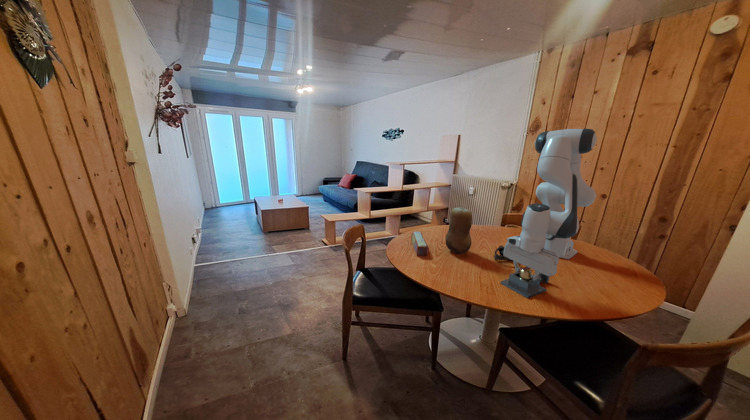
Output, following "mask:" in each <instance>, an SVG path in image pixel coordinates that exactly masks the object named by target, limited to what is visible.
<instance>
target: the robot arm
mask: <svg viewBox="0 0 750 420" xmlns="http://www.w3.org/2000/svg"><path fill="white" fill-rule="evenodd" d="M597 137H598V136H597V134H596V131H595V130H594V129H593V128H565V129H558V130H551V131H549V130H547V131H542V132H541V133H539V134H538V135H537V136H536V139H535V141H534V147H535V148H534V149H535V151H536V152H537V153H538V154H540V155H539V158H538V163H537V167H536V173H537V176H539V178H540V179H542V180H543V181H544V182H541V183H539V184H538V185H537V187H536V189H535V196H536V197H537V199H538V200H539V201H540V202H541V203H536V202H535V203H531V204H529V205H527V207H526V210H525V211H524V212H523V213H522V216H521V221H520V225H521V227H522V230H521V232H520V234H519V235H515V236H509V237H507V239H506V243H505V245H504V246H503V247H504V251H503V254H504V255H503V256H505V257H507V258H509V259H510V260H511V261H512V263H513V265H514V266H513V267H514V272H520V271H521V268H522V267H520V266H519V264H520V265H522V266H524V267H529V268H531V269H530V270H532V271H533V270H534V274H533V273H532V275H531V279H533V280H536V279H537V276H538V275H540V274H541V273H542V274H544V275H547V276H549V277H553V276H555V275H556V274H557V273H558V264H559V260H560V258H562V259H567V260H570V259H571V258H572V257H574V256H575V255H577V254H578V250H577V249H575V248H574V244H575V243H574V241H573V240H572V239H571V238H572V237H574V236H576V235H577V234H578V231H579V229H580V222H579V216H578V207H583V208H585V207H589V206H591V205H592V204H594V202H595V201H596V198H597V193H596V191H595V189H594V188H593V187H591V186H590V185H588V183H586V182H585V180H584V178H583V177H582V175H581V165H582V164H581V162H582V154H587V153H589V152H591V151H592V150H593V149H594V147H595V146H596V144H597V141H598V138H597ZM562 205H564V209H563V208H562V207H563V206H562ZM535 273H536V274H535Z"/></svg>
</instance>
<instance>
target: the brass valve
mask: <svg viewBox="0 0 750 420" xmlns="http://www.w3.org/2000/svg"><path fill="white" fill-rule="evenodd" d="M520 268H521V272H520V276H519V277H520V278H522V279H524V280H526V281H530V280H531V275H533V269H531V268H529V267H527V266H524V267H520Z"/></svg>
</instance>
